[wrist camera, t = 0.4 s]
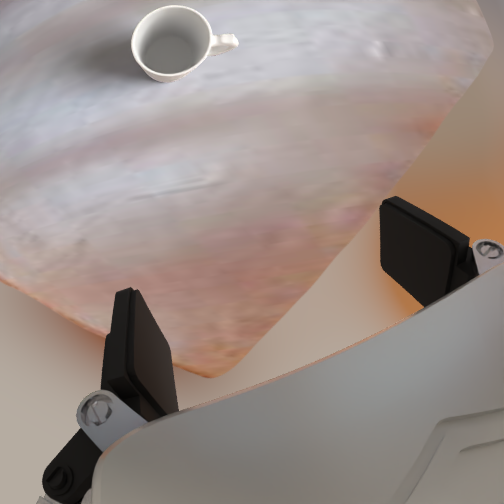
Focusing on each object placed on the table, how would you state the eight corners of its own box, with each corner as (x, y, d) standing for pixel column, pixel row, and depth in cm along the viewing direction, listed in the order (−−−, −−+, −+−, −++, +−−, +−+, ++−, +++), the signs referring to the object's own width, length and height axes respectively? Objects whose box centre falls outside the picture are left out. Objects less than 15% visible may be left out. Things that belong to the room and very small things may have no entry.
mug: (141, 88, 32) (132, 81, 22) (139, 37, 29) (130, 10, 18) (224, 80, 34) (251, 71, 24) (223, 30, 31) (248, 3, 21)
